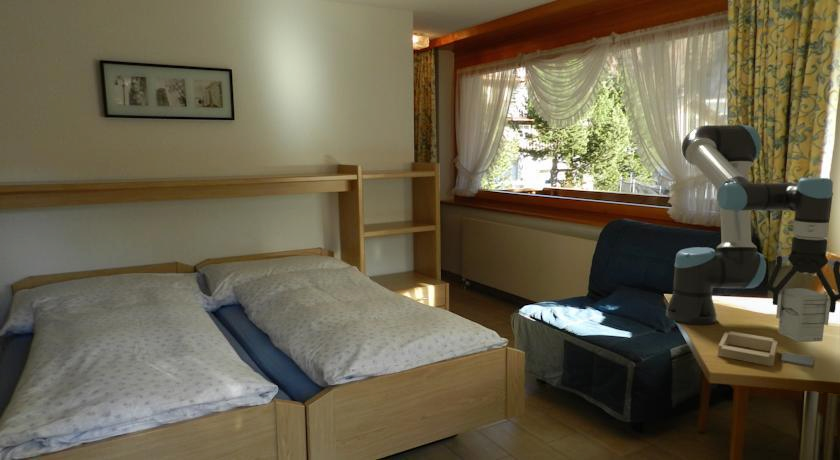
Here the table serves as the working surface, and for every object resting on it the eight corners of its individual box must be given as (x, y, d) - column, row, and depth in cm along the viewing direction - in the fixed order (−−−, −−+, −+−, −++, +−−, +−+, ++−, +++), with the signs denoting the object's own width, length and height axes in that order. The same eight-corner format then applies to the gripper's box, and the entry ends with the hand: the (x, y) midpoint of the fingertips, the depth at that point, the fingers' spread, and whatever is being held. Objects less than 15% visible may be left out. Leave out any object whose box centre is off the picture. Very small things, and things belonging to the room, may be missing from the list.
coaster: (780, 361, 151) (781, 359, 151) (782, 353, 157) (782, 351, 157) (812, 367, 147) (813, 365, 147) (813, 359, 153) (813, 357, 153)
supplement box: (776, 333, 154) (781, 288, 152) (802, 332, 155) (806, 287, 153) (797, 342, 147) (801, 295, 145) (823, 341, 147) (828, 294, 145)
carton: (716, 357, 154) (717, 347, 153) (725, 340, 167) (726, 330, 167) (772, 368, 146) (773, 357, 146) (776, 349, 160) (777, 339, 159)
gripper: (758, 235, 150) (751, 316, 153) (865, 243, 137) (855, 331, 141) (760, 232, 156) (754, 310, 159) (863, 239, 143) (854, 324, 147)
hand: (801, 320), depth 150 cm, fingers closed on supplement box, 10 cm apart
